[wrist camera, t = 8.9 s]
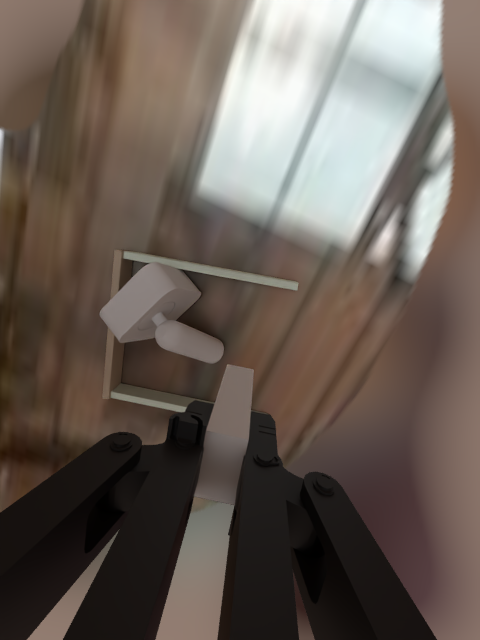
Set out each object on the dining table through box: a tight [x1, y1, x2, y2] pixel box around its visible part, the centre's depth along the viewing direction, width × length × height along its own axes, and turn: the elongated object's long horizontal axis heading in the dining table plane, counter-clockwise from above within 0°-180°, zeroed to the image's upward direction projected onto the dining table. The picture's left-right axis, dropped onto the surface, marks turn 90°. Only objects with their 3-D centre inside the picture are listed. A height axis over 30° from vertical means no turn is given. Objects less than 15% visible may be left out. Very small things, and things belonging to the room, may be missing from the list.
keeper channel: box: [102, 250, 299, 414], centre depth 36 cm, size 20×18×3 cm
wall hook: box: [100, 262, 224, 364], centre depth 33 cm, size 8×10×10 cm
